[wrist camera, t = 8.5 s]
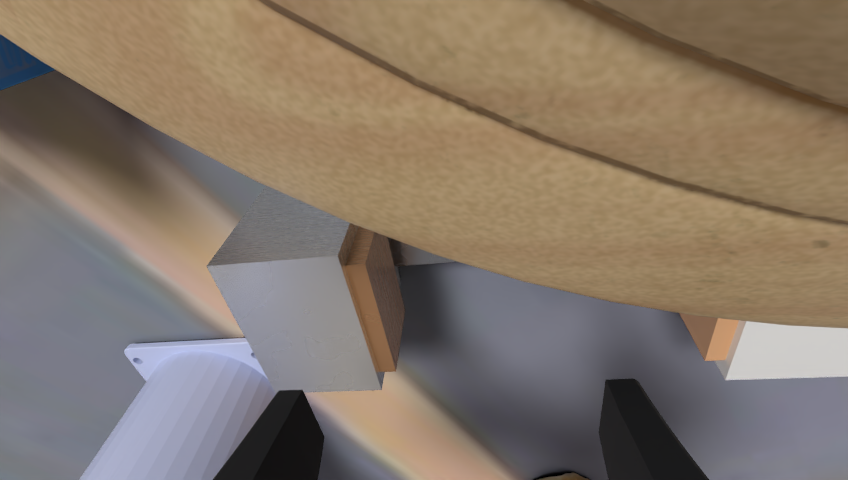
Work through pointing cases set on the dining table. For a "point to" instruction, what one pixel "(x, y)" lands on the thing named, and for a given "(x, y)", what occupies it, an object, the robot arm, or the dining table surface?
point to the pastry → (566, 477)
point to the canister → (515, 130)
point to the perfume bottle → (18, 64)
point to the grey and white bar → (315, 294)
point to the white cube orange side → (769, 348)
